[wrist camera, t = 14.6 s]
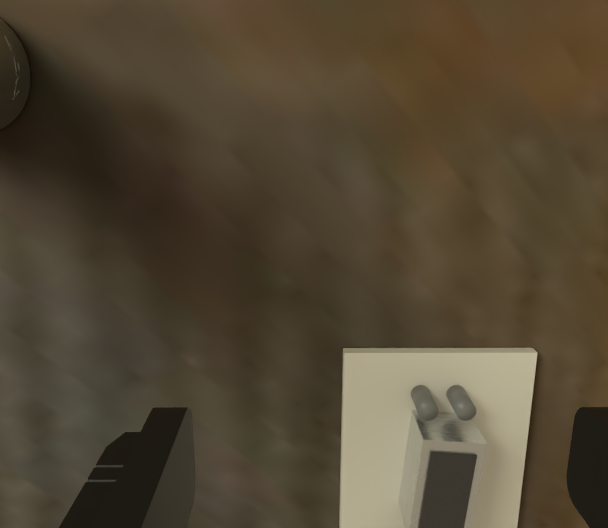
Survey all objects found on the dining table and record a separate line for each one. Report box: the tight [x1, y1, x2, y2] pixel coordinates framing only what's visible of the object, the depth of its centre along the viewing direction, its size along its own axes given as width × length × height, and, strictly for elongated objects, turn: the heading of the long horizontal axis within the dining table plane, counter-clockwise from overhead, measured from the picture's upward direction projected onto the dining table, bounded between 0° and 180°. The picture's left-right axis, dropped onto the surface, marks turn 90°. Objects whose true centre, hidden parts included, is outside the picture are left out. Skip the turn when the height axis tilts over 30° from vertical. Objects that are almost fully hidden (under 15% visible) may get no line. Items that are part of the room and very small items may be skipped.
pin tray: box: [339, 348, 537, 528], centre depth 47 cm, size 16×20×4 cm
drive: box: [398, 410, 487, 528], centre depth 46 cm, size 5×9×5 cm, turn 175°
